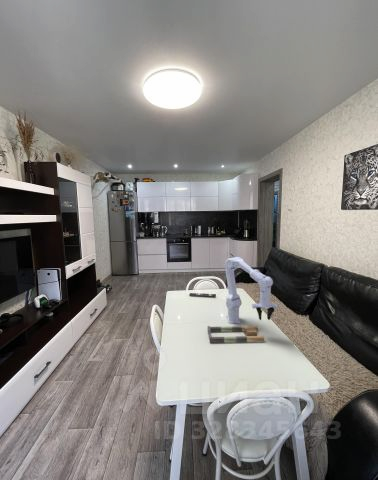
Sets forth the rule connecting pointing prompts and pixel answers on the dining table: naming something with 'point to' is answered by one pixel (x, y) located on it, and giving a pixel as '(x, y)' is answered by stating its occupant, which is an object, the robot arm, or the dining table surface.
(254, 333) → the tan wooden block
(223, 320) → the dining table surface
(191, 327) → the dining table surface
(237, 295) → the robot arm
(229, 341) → the trap lane
